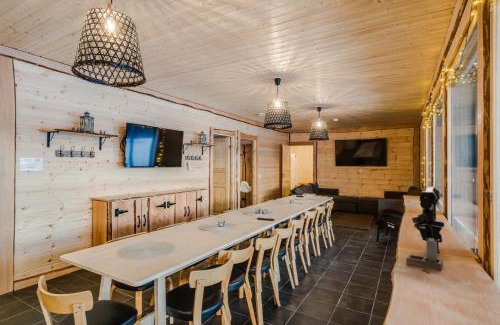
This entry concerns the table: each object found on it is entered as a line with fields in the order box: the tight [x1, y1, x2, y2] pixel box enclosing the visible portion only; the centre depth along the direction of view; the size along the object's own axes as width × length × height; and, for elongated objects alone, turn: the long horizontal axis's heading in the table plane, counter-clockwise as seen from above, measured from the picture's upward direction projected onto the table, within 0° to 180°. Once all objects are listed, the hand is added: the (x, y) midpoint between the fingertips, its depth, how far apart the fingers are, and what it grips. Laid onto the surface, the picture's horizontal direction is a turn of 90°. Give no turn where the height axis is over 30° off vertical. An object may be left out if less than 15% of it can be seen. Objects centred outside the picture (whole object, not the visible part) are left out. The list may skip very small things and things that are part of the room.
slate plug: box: [425, 238, 438, 263], centre depth 144 cm, size 5×5×15 cm
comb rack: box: [405, 254, 444, 272], centre depth 146 cm, size 8×16×4 cm, turn 49°
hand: (428, 240), depth 153 cm, fingers open, 9 cm apart
